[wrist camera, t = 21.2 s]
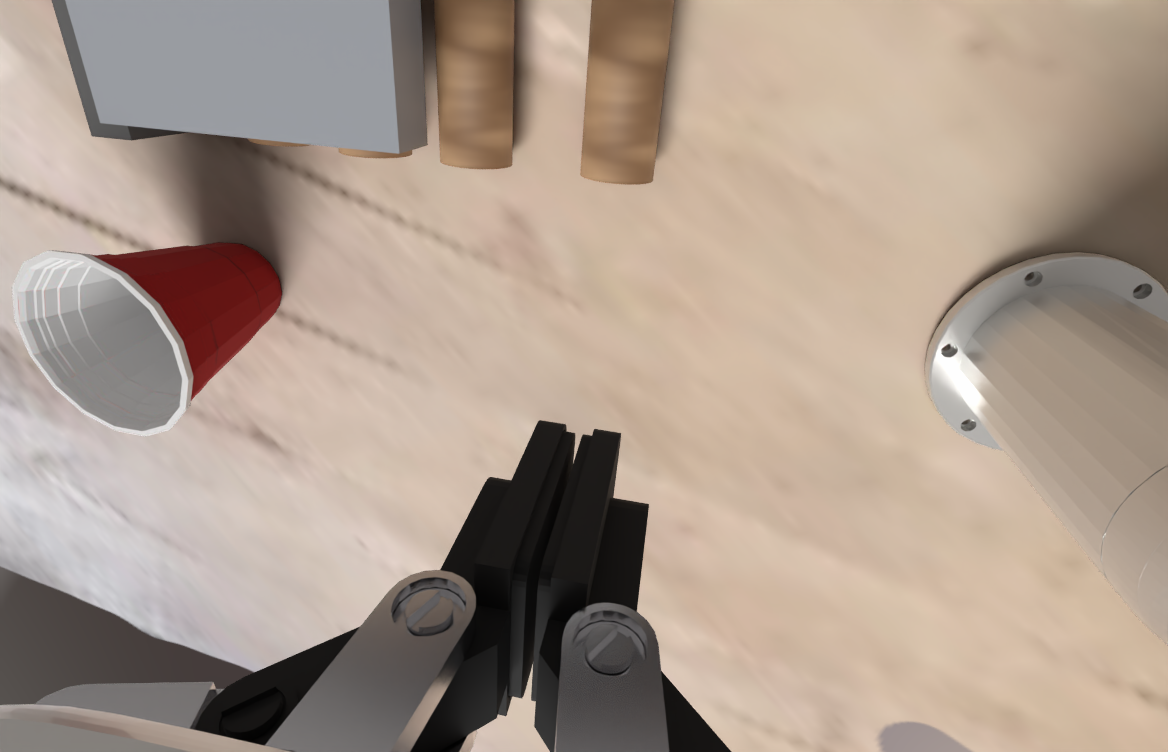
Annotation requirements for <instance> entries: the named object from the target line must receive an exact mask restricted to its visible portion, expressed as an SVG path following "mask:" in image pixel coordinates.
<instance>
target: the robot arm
mask: <svg viewBox="0 0 1168 752" xmlns="http://www.w3.org/2000/svg"><path fill="white" fill-rule="evenodd" d="M1029 273H1030V275H1029V276H1028V277H1026V276H1027V274H1029ZM1025 277H1026V278H1025ZM947 344H948V345H947ZM945 345H947V346H946V347H944V346H945ZM943 347H944V348H943ZM925 383H926V386H927V390H928V394H929V397H930V399H931V401H932V403H933V404H934V406H935V408H936V410H937V411H938V413H939V414H940V415H941V416H942V418H943V419H944V420H945V422H946V423H947V424H948V425H949V426H950V427H951V428H952V429H953V430H954V431H956V432H957V433H958V434H959V435H961V436H963V437H965V438H967V439H968V440H970V441H972V442H974V443H976V444H979V445H982V446H985V447H988V448H991V449H995V450H1001V451H1004V452H1005V453H1006V455H1007V456H1008V457H1009V459H1010V460H1011V461H1012V462H1013V464H1014V465H1015V466H1016V467H1017V469H1018V470H1019V471H1020V472H1021V474H1022V475H1023V476H1024V477H1025V479H1026V480H1027V481H1028V482H1029V484H1030V485H1031V486H1032V487H1033V489H1034V490H1035V491H1036V492H1037V494H1038V495H1039V496H1040V497H1041V499H1042V500H1043V501H1044V503H1045V504H1046V505H1047V506H1048V508H1049V509H1050V510H1051V511H1052V513H1053V514H1054V515H1055V516H1056V518H1057V519H1058V520H1059V521H1060V523H1061V524H1062V525H1063V526H1064V528H1065V529H1066V530H1067V531H1068V533H1069V534H1070V535H1071V536H1072V538H1073V539H1074V540H1075V541H1076V543H1077V544H1078V545H1079V547H1080V548H1081V549H1082V550H1083V552H1084V553H1085V554H1086V555H1087V557H1088V558H1089V559H1090V560H1091V562H1092V563H1093V564H1094V565H1095V567H1096V568H1097V569H1098V570H1099V572H1100V573H1101V574H1102V575H1103V577H1104V578H1105V579H1106V580H1107V582H1108V583H1109V584H1110V586H1111V587H1112V588H1113V589H1114V591H1115V592H1116V593H1117V594H1118V595H1119V596H1120V598H1121V599H1122V600H1123V601H1124V603H1125V604H1126V605H1127V606H1128V608H1129V609H1130V610H1131V611H1132V612H1133V613H1134V615H1135V616H1136V617H1137V618H1138V619H1139V620H1140V621H1141V622H1142V623H1143V624H1144V625H1145V626H1146V627H1147V628H1148V629H1149V630H1150V631H1151V632H1152V633H1153V634H1155V635H1156V636H1157V637H1158V638H1159V639H1160V640H1162V641H1163V642H1164V643H1165V644H1167V645H1168V293H1167V291H1166V290H1165V289H1164V288H1163V286H1162V285H1161V284H1160V283H1159V282H1158V281H1157V280H1155V279H1154V278H1153V277H1151V276H1150V275H1149V274H1147V273H1146V272H1145V271H1143V270H1141V269H1139V268H1137V267H1135V266H1133V265H1131V264H1129V263H1127V262H1125V261H1122V260H1118V259H1115V258H1112V257H1109V256H1105V255H1101V254H1092V253H1082V252H1074V253H1058V254H1051V255H1046V256H1042V257H1037V258H1033V259H1028V260H1026V261H1023V262H1021V263H1018V264H1015V265H1013V266H1010V267H1007V268H1005V269H1003V270H1001V271H1000V272H998V273H996V274H994V275H992V276H991V277H989V278H987V279H985V280H983V281H982V282H981V283H979V284H978V285H977V286H975V287H974V288H973V289H971V290H970V291H969V292H968V293H966V294H965V295H964V296H963V297H962V298H961V299H960V300H959V301H958V302H957V303H956V304H955V305H954V306H953V307H952V308H951V309H950V310H949V311H948V313H947V314H946V316H945V317H944V319H943V320H942V322H941V323H940V325H939V326H938V327H937V329H936V331H935V333H934V336H933V338H932V340H931V343H930V345H929V347H928V352H927V357H926V362H925ZM620 440H621V433H616V432H610V431H604V430H598V429H594V432H593V435H592V436H590V435H584V434H583V435H582V438H581V441H580V444H579V448H578V451H577V454H576V457H575V460H574V463H573V458H574V446H575V433H571V432H566V424H560V423H554V422H547V421H541V420H540V421H538V423H537V425H536V427H535V430H534V432H533V434H532V436H531V438H530V441H529V443H528V445H527V447H526V449H525V452H524V454H523V456H522V458H521V461H520V463H519V465H518V467H517V469H516V472H515V474H514V476H513V478H512V480H505V479H499V478H493V477H490V478H488V479H487V481H486V482H485V484H484V486H483V488H482V490H481V492H480V494H479V495H478V497H477V499H476V501H475V503H474V505H473V507H472V509H471V511H470V513H469V515H468V517H467V519H466V521H465V523H464V525H463V527H462V529H461V531H460V533H459V535H458V536H457V538H456V540H455V542H454V544H453V546H452V548H451V550H450V552H449V554H448V556H447V558H446V560H445V562H444V564H443V566H442V568H441V570H432V571H423V572H420V573H416V574H413V575H410V576H408V577H407V578H405V579H403V580H401V581H399V582H398V583H397V584H396V585H395V586H394V587H393V588H392V589H391V590H390V591H389V592H388V593H387V594H386V595H385V597H384V598H383V599H382V600H381V602H380V603H379V604H378V605H377V607H376V608H375V609H374V610H373V612H372V613H371V614H370V615H369V617H368V618H367V619H366V620H365V622H364V623H363V624H362V625H361V626H360V627H358V628H356V629H353V630H351V631H349V632H347V633H344V634H342V635H340V636H337V637H335V638H333V639H330V640H328V641H326V642H324V643H321V644H319V645H317V646H314V647H312V648H310V649H307V650H305V651H303V652H301V653H298V654H296V655H294V656H291V657H289V658H287V659H284V660H282V661H280V662H278V663H275V664H273V665H271V666H268V667H266V668H264V669H261V670H259V671H257V672H255V673H252V674H250V675H248V676H245V677H244V678H242V679H240V680H238V681H236V682H235V683H233V684H231V685H230V686H228V687H226V688H225V689H215V685H214V683H213V682H185V683H129V684H128V683H127V684H84V685H79V686H73V687H67V688H64V689H62V690H60V691H57V692H55V693H52V694H50V695H48V696H45V697H44V698H42V699H41V700H39V701H38V702H36V703H35V704H29V705H28V704H24V705H0V752H470V751H471V749H472V747H473V745H474V742H475V739H476V735H477V729H479V728H481V727H482V726H484V725H486V724H487V723H489V722H491V721H492V720H494V719H496V718H497V715H498V714H499V715H503V716H506V715H507V712H508V708H509V705H510V702H511V698H512V696H513V697H518V698H522V697H523V695H524V693H525V689H526V686H527V682H528V678H529V675H530V671H531V668H532V664H533V677H532V695H531V700H532V701H536V709H535V724H534V727H535V728H536V730H537V731H538V733H539V735H540V736H541V738H542V739H543V741H544V743H545V744H546V746H547V748H548V749H549V751H550V752H731V751H730V750H729V748H728V747H727V746H726V745H725V744H724V743H723V742H722V740H721V739H720V738H719V737H718V736H717V735H716V734H715V732H714V731H713V730H712V729H711V728H710V727H709V725H708V724H707V723H706V722H705V721H704V720H703V719H702V717H701V716H700V715H699V714H698V713H697V712H696V710H695V709H694V708H693V707H692V706H691V705H690V704H689V702H688V701H687V700H686V699H685V698H684V697H683V695H682V694H681V693H680V692H679V691H678V690H677V689H676V687H675V686H674V685H673V684H672V683H671V682H670V680H669V679H668V678H667V677H666V676H665V675H664V674H663V672H662V671H661V665H660V655H659V646H658V642H657V638H656V634H655V631H654V630H653V628H652V627H651V626H650V624H649V623H648V621H647V620H646V619H645V618H644V617H642V616H641V615H640V614H639V613H638V612H637V604H638V595H639V587H640V578H641V569H642V561H643V552H644V543H645V535H646V526H647V517H648V508H649V504H645V503H639V502H633V501H627V500H621V499H615V498H613V495H614V487H615V479H616V471H617V463H618V456H619V448H620Z"/></svg>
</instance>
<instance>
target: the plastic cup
mask: <svg viewBox="0 0 1168 752" xmlns="http://www.w3.org/2000/svg"><path fill="white" fill-rule="evenodd" d="M281 295H282V291H281V286H280V282H279V278H278V276H277V274H276V273H275V271H274V269H273V267H272V266H271V264H270V263H269V262H268V261H267V260H266V259H265V258H264V257H263V256H262V255H261V254H259V253H258V252H257V251H255V250H253V249H251V248H249V247H247V246H245V245H243V244H235V243H220V242H219V243H212V244H206V245H199V246H181V247H173V248H165V249H158V250H150V251H142V252H134V253H127V254H119V255H111V254H106V255H97V256H96V255H90V254H81V253H72V252H64V251H45V252H43V253H41V254H39V255H37V256H35V257H33V258H31V259H29V260H27V261H25V262H23V264H22V266H21V268H20V270H19V273H18V275H17V277H16V279H15V281H14V284H13V286H12V296H13V308H14V320H15V322H16V325H17V327H18V329H19V332H20V334H21V336H22V339H23V341H24V344H25V346H26V348H27V351H28V353H29V355H30V356H31V358H32V359H33V361H34V362H35V363H36V365H37V366H38V367H39V369H40V370H41V371H42V373H43V374H44V375H45V377H46V378H47V379H48V381H49V382H50V383H51V385H52V386H53V387H54V388H55V389H56V390H57V391H58V392H59V393H60V394H61V395H63V396H64V397H65V398H66V399H67V400H68V401H69V402H71V403H72V404H73V405H74V406H75V407H76V408H77V409H79V410H80V411H81V412H82V413H83V414H85V415H87V416H89V417H90V418H92V419H94V420H96V421H98V422H100V423H102V424H104V425H105V426H107V427H109V428H111V429H113V430H115V431H119V432H124V433H130V434H135V435H140V436H149V435H153V434H157V433H160V432H164V431H167V430H170V429H171V428H172V427H173V426H174V425H175V424H176V423H177V421H178V420H179V419H180V418H181V416H182V415H183V414H184V413H185V411H186V410H187V409H188V408H189V406H190V404H191V400H192V399H193V398H194V397H195V395H196V394H198V393H199V392H200V391H201V390H202V388H203V387H204V386H205V385H206V384H207V382H208V381H209V380H210V379H211V378H212V377H213V376H214V375H215V374H216V373H217V372H218V371H219V370H220V369H221V368H222V367H224V366H225V365H226V364H227V363H228V362H229V361H230V360H231V359H232V358H233V357H234V356H235V355H236V354H237V353H238V352H239V351H240V350H241V349H242V348H243V347H244V346H245V345H246V344H247V343H248V342H249V341H250V340H251V339H252V338H253V336H254V335H255V334H256V333H257V332H258V330H259V329H260V328H261V327H262V326H263V325H265V324H266V323H267V322H268V321H269V319H270V318H271V317H272V316H273V315H274V313H275V312H276V310H277V308H278V307H279V306H280V301H281Z"/></svg>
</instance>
